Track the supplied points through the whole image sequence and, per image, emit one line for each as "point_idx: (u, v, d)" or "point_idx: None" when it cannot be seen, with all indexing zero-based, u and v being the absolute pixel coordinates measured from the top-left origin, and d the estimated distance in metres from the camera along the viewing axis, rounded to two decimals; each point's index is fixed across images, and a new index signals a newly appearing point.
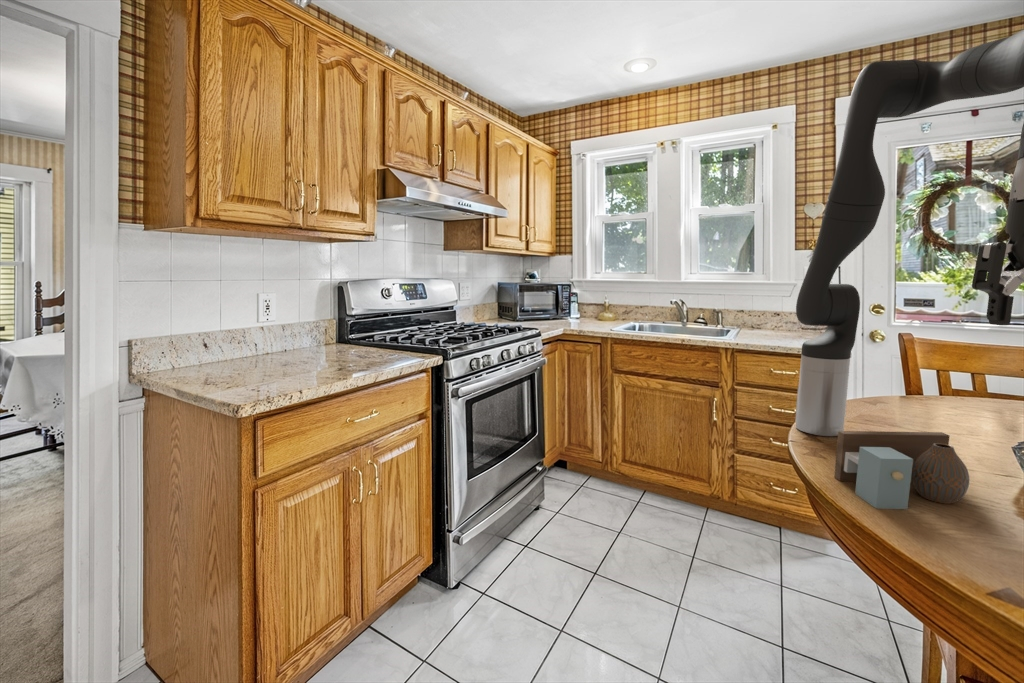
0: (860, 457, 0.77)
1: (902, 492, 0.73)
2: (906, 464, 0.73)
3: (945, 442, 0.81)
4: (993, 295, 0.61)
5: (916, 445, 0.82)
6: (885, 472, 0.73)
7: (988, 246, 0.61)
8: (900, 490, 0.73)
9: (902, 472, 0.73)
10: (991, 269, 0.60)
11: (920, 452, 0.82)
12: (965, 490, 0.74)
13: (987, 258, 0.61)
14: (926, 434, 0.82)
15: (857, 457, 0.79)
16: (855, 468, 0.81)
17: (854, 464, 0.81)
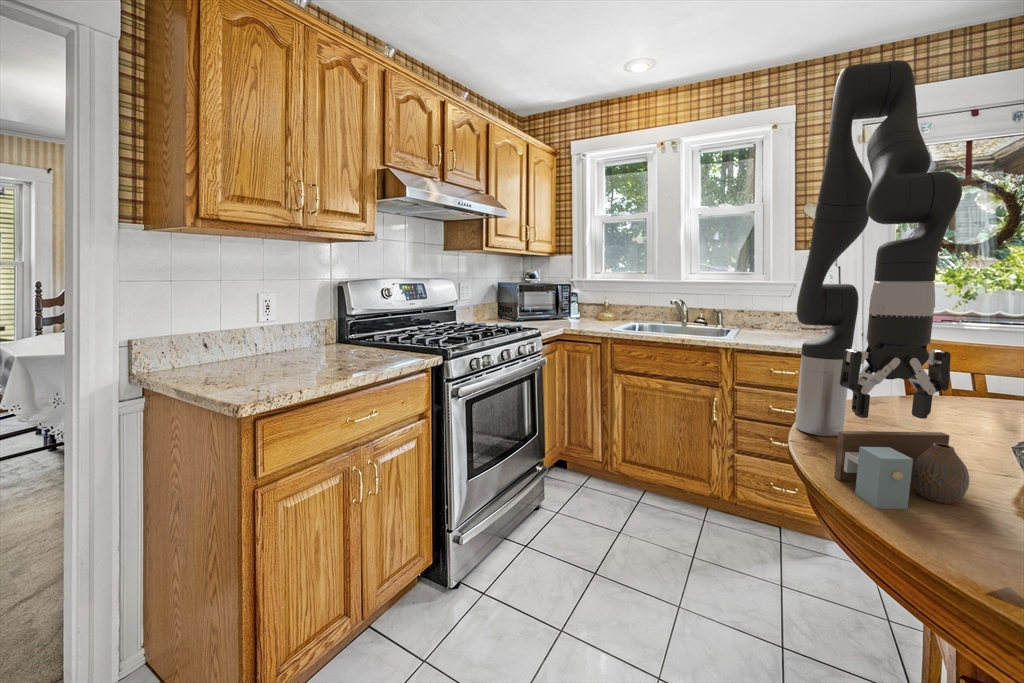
0: (860, 457, 0.77)
1: (902, 492, 0.73)
2: (906, 464, 0.73)
3: (945, 442, 0.81)
4: (855, 392, 0.74)
5: (916, 445, 0.82)
6: (885, 472, 0.73)
7: (849, 353, 0.73)
8: (900, 490, 0.73)
9: (902, 472, 0.73)
10: (850, 372, 0.73)
11: (920, 452, 0.82)
12: (965, 490, 0.74)
13: (849, 362, 0.73)
14: (926, 434, 0.82)
15: (857, 457, 0.79)
16: (855, 468, 0.81)
17: (854, 464, 0.81)
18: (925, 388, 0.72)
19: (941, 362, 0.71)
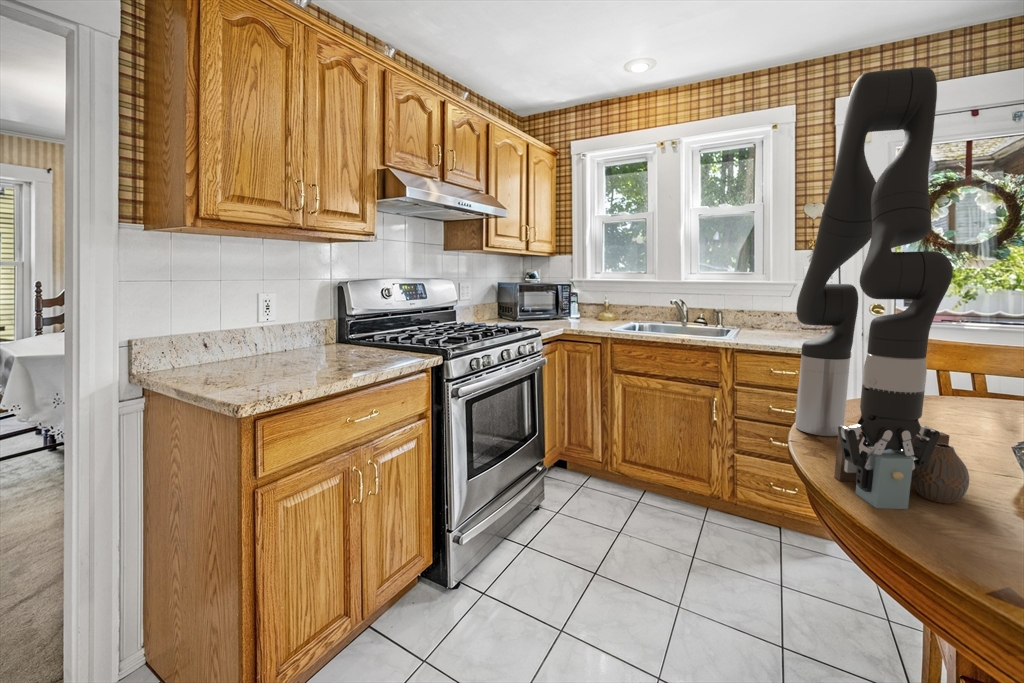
0: None
1: (902, 492, 0.73)
2: (906, 464, 0.73)
3: (945, 442, 0.81)
4: (859, 467, 0.76)
5: None
6: (885, 472, 0.73)
7: (843, 431, 0.75)
8: (900, 490, 0.73)
9: (902, 472, 0.73)
10: (850, 450, 0.74)
11: None
12: (965, 490, 0.74)
13: (845, 440, 0.75)
14: None
15: None
16: (855, 468, 0.81)
17: None
18: None
19: (929, 439, 0.73)
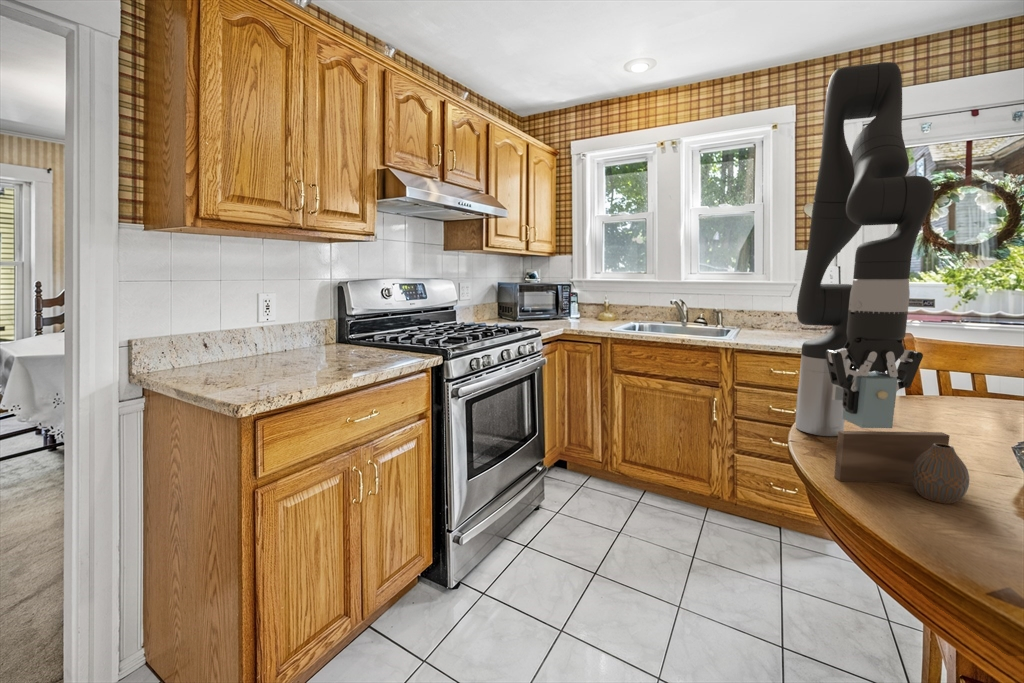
0: None
1: (887, 412, 0.76)
2: (891, 384, 0.75)
3: (945, 442, 0.81)
4: (845, 390, 0.78)
5: (916, 445, 0.82)
6: (870, 392, 0.76)
7: (829, 354, 0.78)
8: (885, 409, 0.76)
9: (887, 392, 0.75)
10: (836, 372, 0.77)
11: (920, 452, 0.82)
12: (965, 490, 0.74)
13: (832, 363, 0.78)
14: (926, 434, 0.82)
15: None
16: None
17: (842, 392, 0.83)
18: None
19: (912, 360, 0.76)
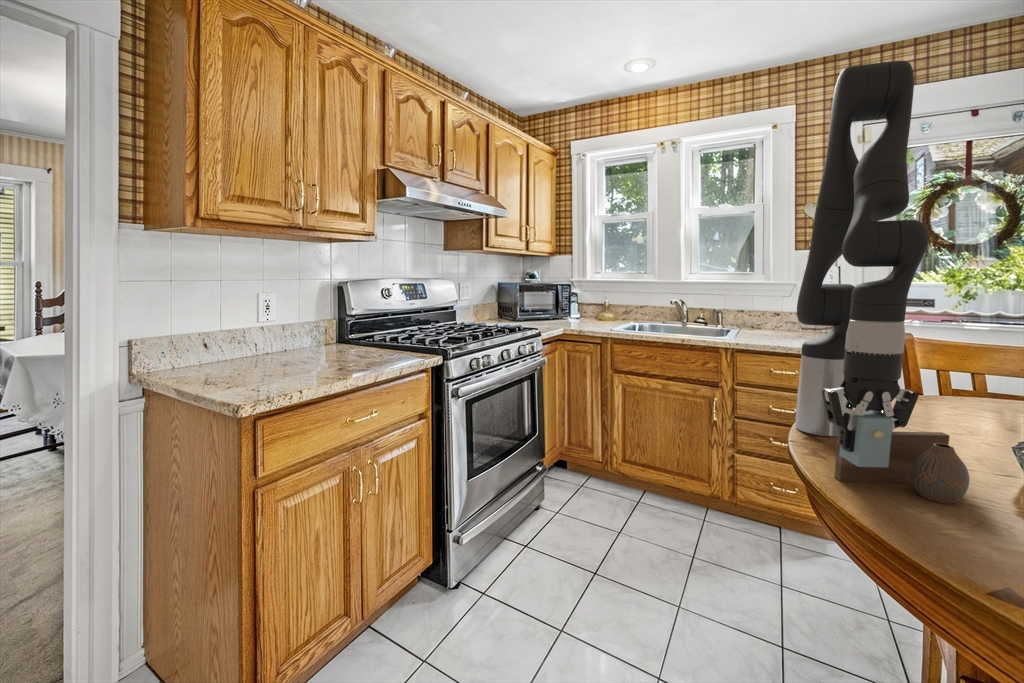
0: None
1: (883, 451, 0.77)
2: (886, 424, 0.76)
3: (945, 442, 0.81)
4: (842, 428, 0.79)
5: (916, 445, 0.82)
6: (866, 432, 0.76)
7: (826, 393, 0.78)
8: (881, 449, 0.77)
9: (883, 431, 0.76)
10: (833, 411, 0.78)
11: (920, 452, 0.82)
12: (965, 490, 0.74)
13: (829, 402, 0.79)
14: (926, 434, 0.82)
15: None
16: None
17: (839, 428, 0.84)
18: None
19: (908, 400, 0.77)
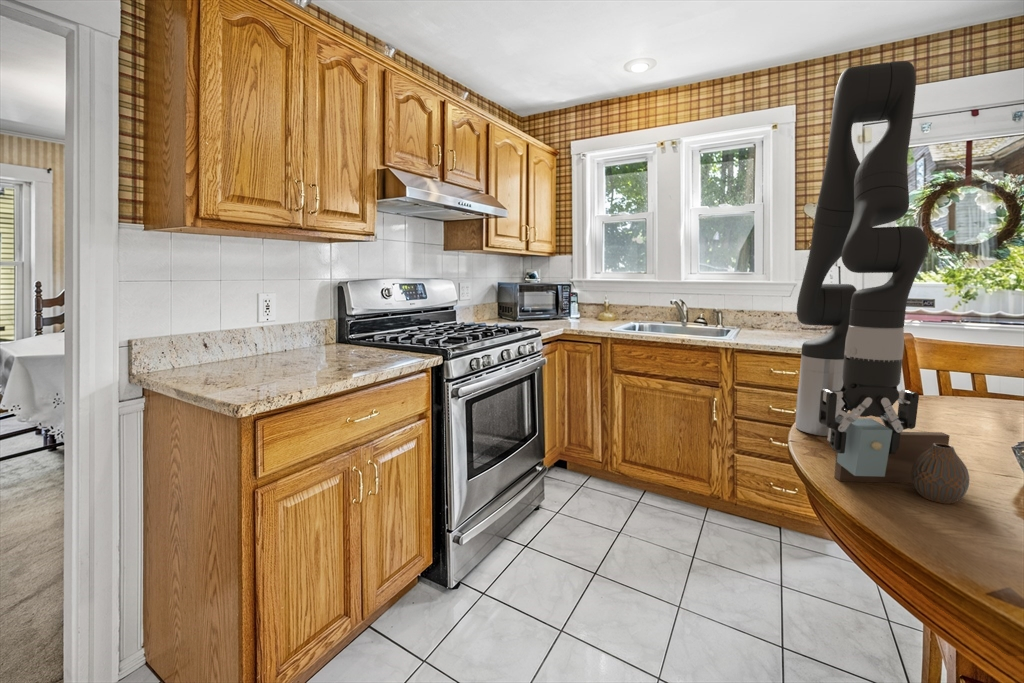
0: None
1: (880, 461, 0.77)
2: (885, 435, 0.76)
3: (945, 442, 0.81)
4: (833, 429, 0.79)
5: (916, 445, 0.82)
6: (865, 442, 0.77)
7: (825, 393, 0.79)
8: (879, 459, 0.77)
9: (881, 442, 0.77)
10: (827, 412, 0.78)
11: (920, 452, 0.82)
12: (965, 490, 0.74)
13: (825, 402, 0.79)
14: (926, 434, 0.82)
15: None
16: None
17: None
18: (893, 426, 0.77)
19: (910, 402, 0.77)
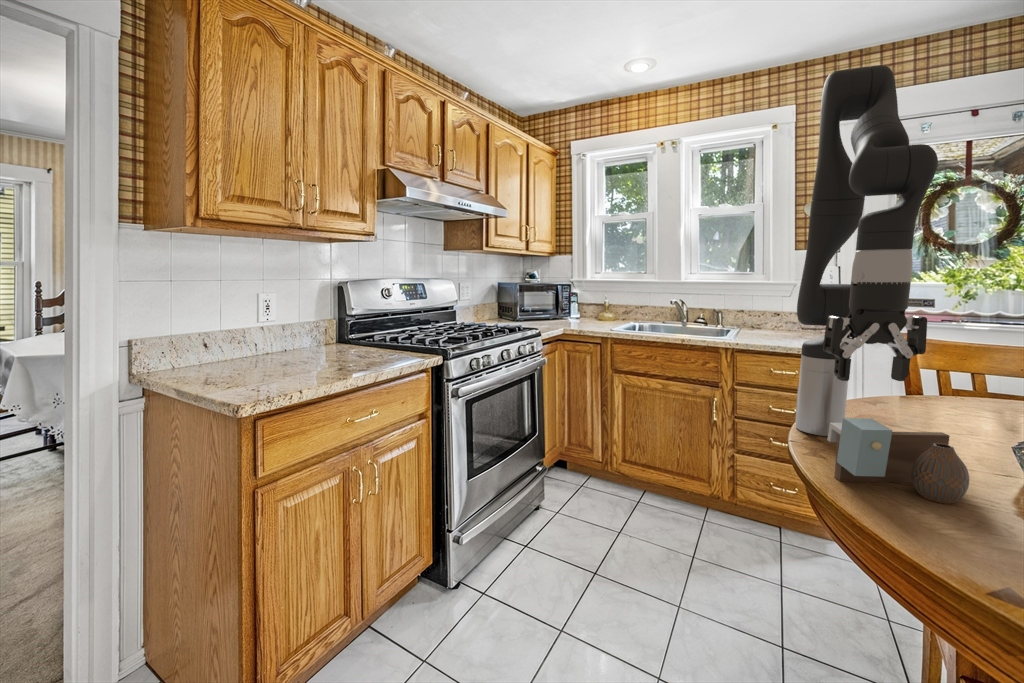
0: (843, 428, 0.81)
1: (880, 461, 0.77)
2: (885, 435, 0.76)
3: (945, 442, 0.81)
4: (837, 357, 0.78)
5: (916, 445, 0.82)
6: (865, 442, 0.77)
7: (832, 319, 0.77)
8: (879, 459, 0.77)
9: (881, 442, 0.77)
10: (832, 337, 0.77)
11: (920, 452, 0.82)
12: (965, 490, 0.74)
13: (831, 328, 0.77)
14: (926, 434, 0.82)
15: (840, 428, 0.83)
16: None
17: (837, 434, 0.85)
18: (903, 352, 0.76)
19: (918, 327, 0.75)
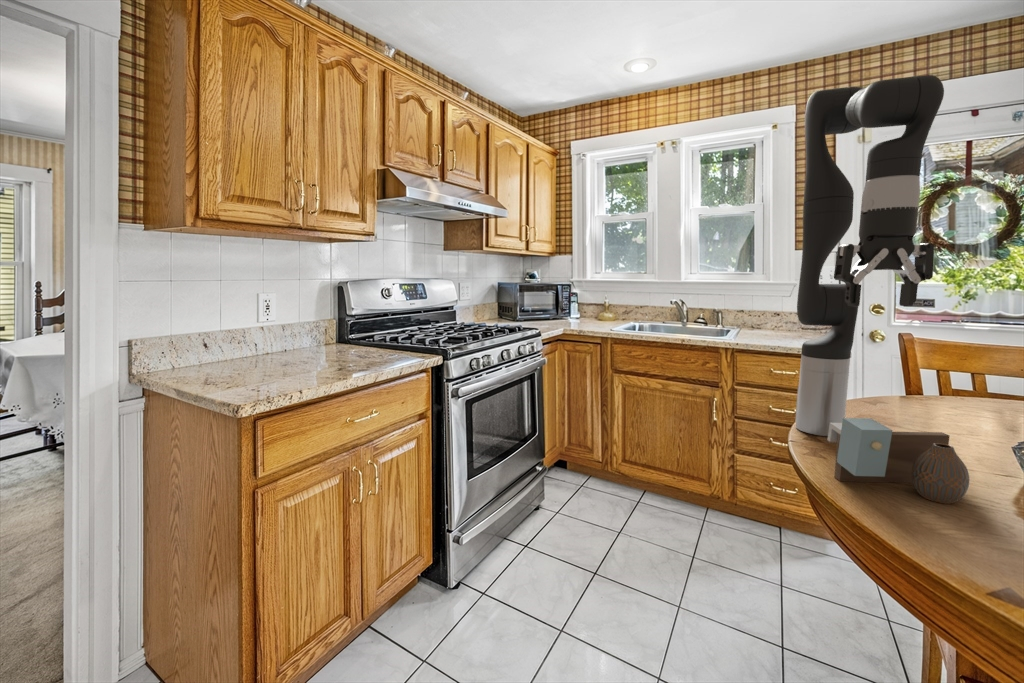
0: (843, 428, 0.81)
1: (880, 461, 0.77)
2: (885, 435, 0.76)
3: (945, 442, 0.81)
4: (848, 284, 0.81)
5: (916, 445, 0.82)
6: (865, 442, 0.77)
7: (842, 247, 0.81)
8: (879, 459, 0.77)
9: (881, 442, 0.77)
10: (843, 264, 0.80)
11: (920, 452, 0.82)
12: (965, 490, 0.74)
13: (842, 256, 0.81)
14: (926, 434, 0.82)
15: (840, 428, 0.83)
16: None
17: (837, 434, 0.85)
18: (911, 277, 0.79)
19: (926, 253, 0.79)
